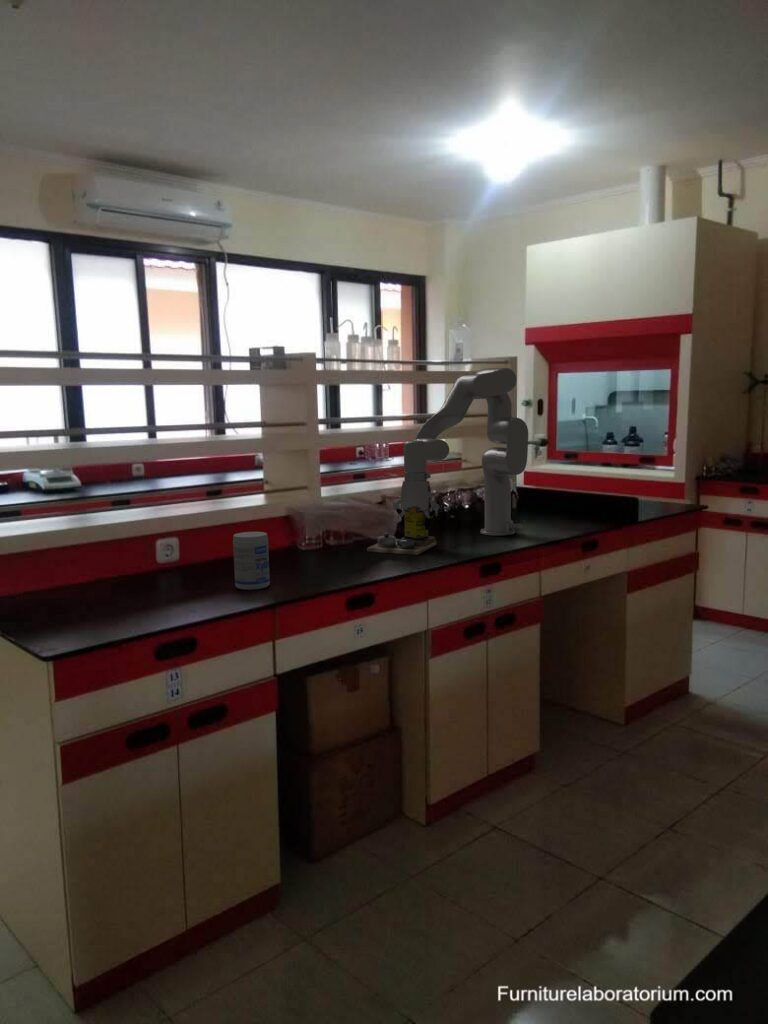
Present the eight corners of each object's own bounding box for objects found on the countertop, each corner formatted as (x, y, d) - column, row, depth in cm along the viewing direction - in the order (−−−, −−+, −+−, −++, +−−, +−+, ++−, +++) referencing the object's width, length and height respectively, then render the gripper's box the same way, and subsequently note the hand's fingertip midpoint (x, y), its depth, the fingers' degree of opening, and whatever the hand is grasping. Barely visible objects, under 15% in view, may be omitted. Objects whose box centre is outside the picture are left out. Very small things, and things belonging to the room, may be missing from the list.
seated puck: (416, 546, 260) (416, 539, 260) (411, 549, 256) (411, 542, 255) (402, 545, 262) (402, 538, 262) (397, 548, 258) (396, 541, 257)
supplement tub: (263, 591, 210) (261, 537, 208) (230, 590, 212) (227, 537, 209) (274, 582, 220) (272, 531, 217) (242, 582, 221) (239, 530, 219)
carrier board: (436, 544, 269) (436, 529, 268) (417, 554, 253) (417, 538, 252) (388, 541, 276) (388, 526, 275) (367, 551, 260) (366, 535, 259)
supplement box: (416, 540, 262) (415, 508, 260) (404, 538, 267) (403, 506, 265) (429, 538, 266) (428, 506, 264) (417, 535, 270) (416, 504, 269)
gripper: (443, 476, 263) (444, 527, 266) (396, 475, 270) (397, 525, 273) (436, 479, 256) (436, 531, 259) (387, 477, 263) (388, 529, 266)
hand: (416, 528), depth 266 cm, fingers closed on supplement box, 7 cm apart
